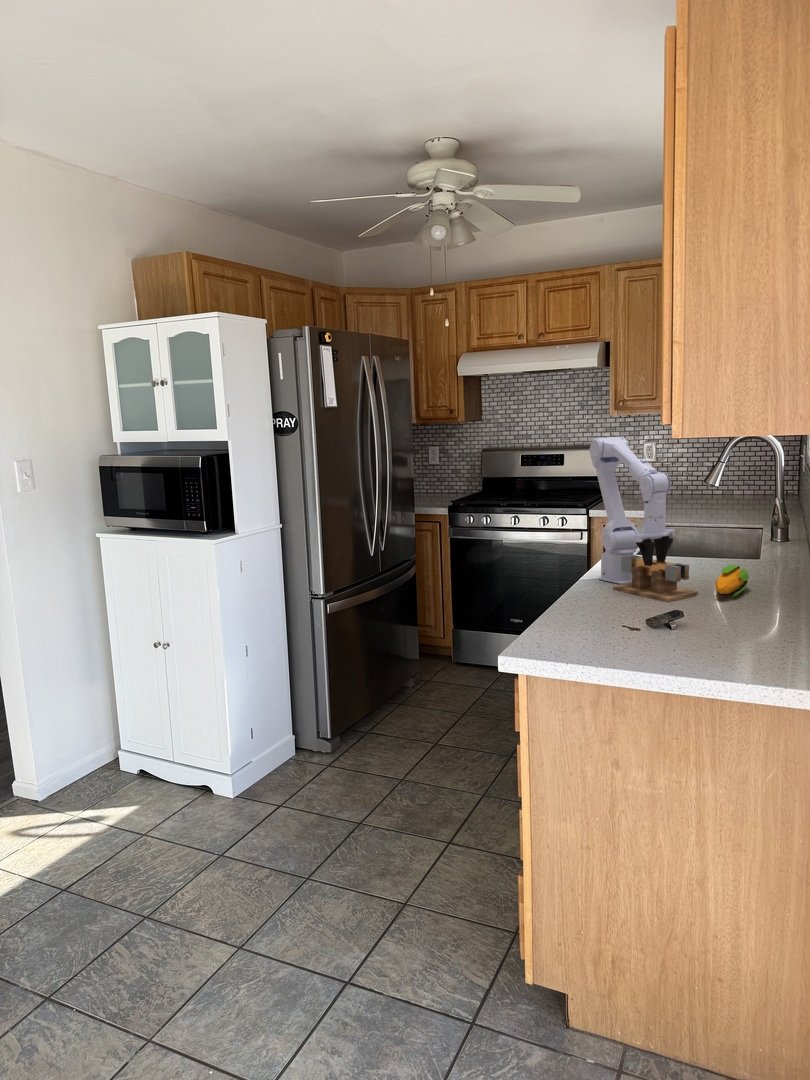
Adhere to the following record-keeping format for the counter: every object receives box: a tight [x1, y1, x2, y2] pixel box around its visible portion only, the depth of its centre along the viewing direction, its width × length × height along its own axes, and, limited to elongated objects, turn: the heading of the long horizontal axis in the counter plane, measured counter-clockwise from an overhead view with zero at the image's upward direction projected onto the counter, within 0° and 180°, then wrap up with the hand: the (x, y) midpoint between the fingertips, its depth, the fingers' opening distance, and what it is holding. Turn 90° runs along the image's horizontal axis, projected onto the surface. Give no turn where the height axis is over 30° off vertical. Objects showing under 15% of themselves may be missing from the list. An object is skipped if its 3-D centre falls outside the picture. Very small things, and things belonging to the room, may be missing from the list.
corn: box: [715, 564, 750, 598], centre depth 210 cm, size 7×8×20 cm
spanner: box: [621, 554, 690, 583], centre depth 215 cm, size 20×5×4 cm, turn 31°
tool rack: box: [612, 567, 699, 603], centre depth 216 cm, size 20×12×7 cm, turn 31°
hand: (654, 564), depth 215 cm, fingers open, 5 cm apart
